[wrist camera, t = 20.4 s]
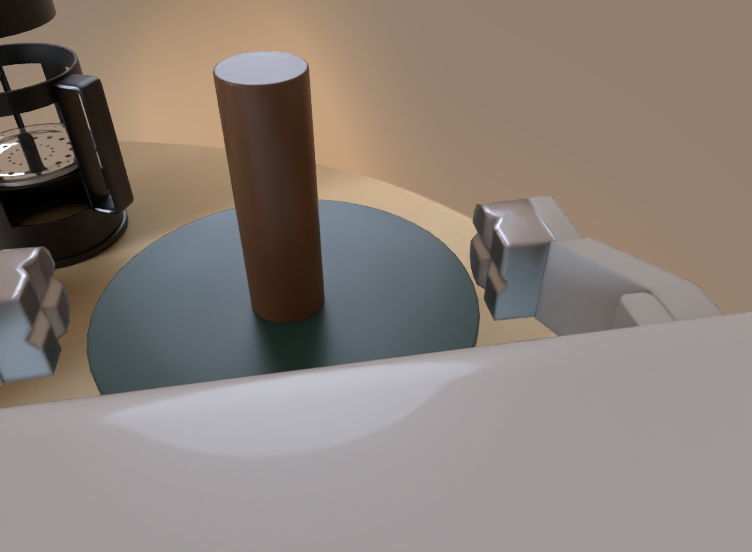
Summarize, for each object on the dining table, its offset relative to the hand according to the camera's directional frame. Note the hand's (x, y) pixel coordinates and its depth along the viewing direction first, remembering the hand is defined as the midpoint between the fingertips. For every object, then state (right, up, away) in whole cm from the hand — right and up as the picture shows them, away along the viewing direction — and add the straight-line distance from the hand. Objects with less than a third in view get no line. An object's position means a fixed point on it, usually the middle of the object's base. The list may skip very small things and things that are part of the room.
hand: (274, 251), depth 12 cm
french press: (-20, +3, +33) cm, 39 cm away
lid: (-1, -2, +12) cm, 13 cm away
